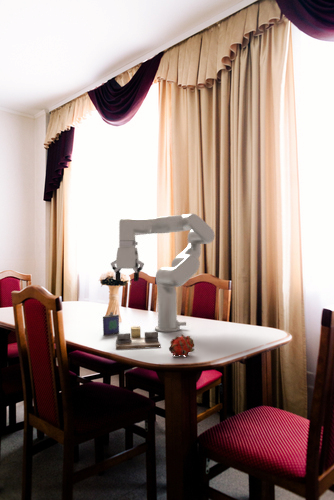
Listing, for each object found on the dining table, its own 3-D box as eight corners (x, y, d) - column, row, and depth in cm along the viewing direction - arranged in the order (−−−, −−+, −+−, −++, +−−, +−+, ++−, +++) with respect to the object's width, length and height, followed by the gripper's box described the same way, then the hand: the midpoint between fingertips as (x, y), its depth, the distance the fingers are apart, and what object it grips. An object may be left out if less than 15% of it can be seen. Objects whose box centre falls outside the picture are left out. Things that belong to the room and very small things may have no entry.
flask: (116, 332, 186) (116, 310, 186) (120, 333, 184) (120, 311, 184) (101, 335, 179) (101, 312, 179) (105, 336, 177) (105, 313, 177)
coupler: (131, 337, 174) (130, 326, 174) (139, 337, 174) (139, 326, 174) (131, 339, 169) (131, 328, 169) (140, 339, 169) (140, 328, 169)
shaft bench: (156, 339, 168) (156, 328, 168) (160, 347, 154) (160, 335, 154) (115, 341, 166) (115, 330, 166) (116, 349, 152) (116, 336, 152)
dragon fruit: (195, 357, 145) (173, 368, 137) (181, 341, 149) (158, 351, 141) (203, 342, 140) (180, 353, 132) (188, 326, 145) (165, 336, 137)
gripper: (147, 244, 178) (147, 281, 178) (115, 245, 185) (115, 280, 185) (139, 244, 171) (139, 281, 171) (107, 244, 178) (107, 280, 178)
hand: (127, 280), depth 178 cm, fingers open, 9 cm apart
